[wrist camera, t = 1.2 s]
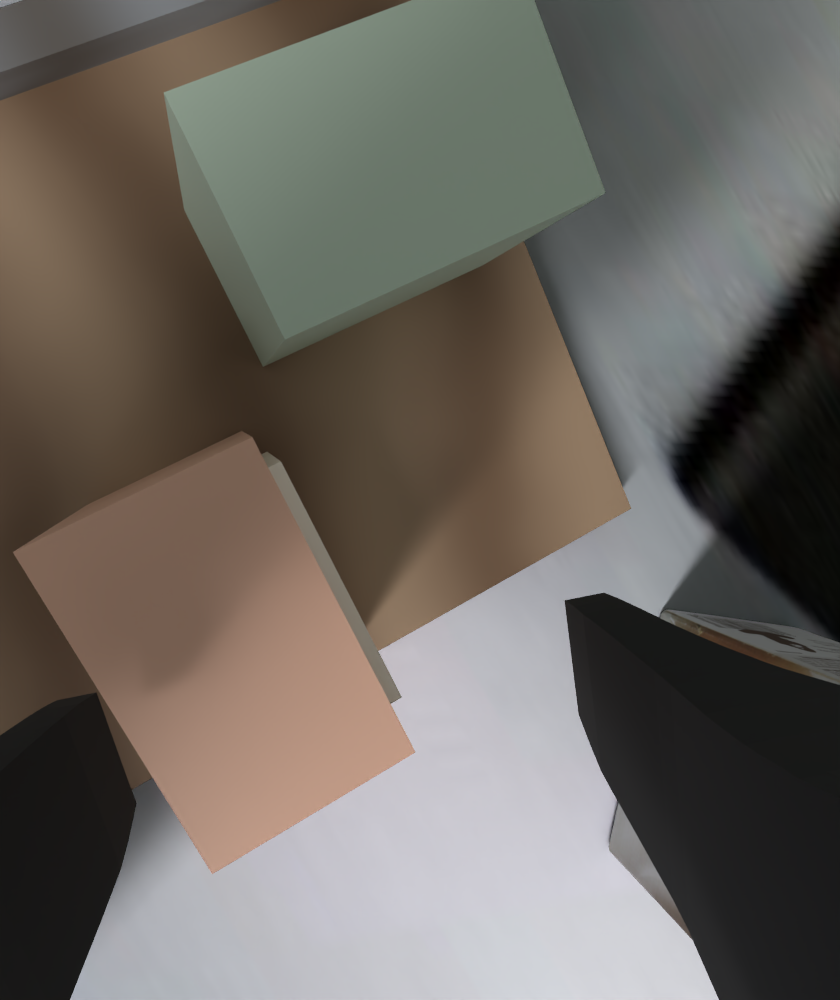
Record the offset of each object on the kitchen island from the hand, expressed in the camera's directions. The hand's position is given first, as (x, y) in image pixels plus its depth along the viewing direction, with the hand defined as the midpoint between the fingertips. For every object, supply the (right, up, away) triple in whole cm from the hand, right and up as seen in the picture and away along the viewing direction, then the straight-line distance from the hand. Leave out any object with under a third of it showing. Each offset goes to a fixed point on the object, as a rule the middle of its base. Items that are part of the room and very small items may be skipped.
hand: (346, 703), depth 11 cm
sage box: (-1, +10, +9) cm, 14 cm away
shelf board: (-5, +6, +10) cm, 12 cm away
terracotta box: (-4, +1, +9) cm, 10 cm away
